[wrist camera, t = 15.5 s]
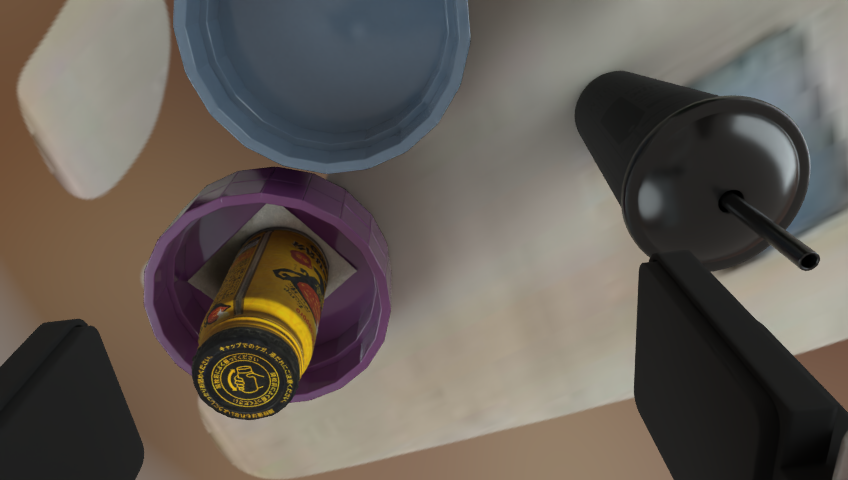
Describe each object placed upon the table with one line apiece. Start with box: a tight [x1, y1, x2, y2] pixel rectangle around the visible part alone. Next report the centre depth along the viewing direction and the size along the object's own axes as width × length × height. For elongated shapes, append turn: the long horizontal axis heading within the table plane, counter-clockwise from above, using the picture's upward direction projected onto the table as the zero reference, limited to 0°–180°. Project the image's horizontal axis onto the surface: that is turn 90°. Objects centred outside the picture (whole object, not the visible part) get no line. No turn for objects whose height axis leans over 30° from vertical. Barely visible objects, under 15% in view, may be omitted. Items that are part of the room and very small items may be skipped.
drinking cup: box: [575, 71, 820, 271], centre depth 29 cm, size 8×8×20 cm
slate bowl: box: [173, 0, 471, 174], centre depth 33 cm, size 14×14×5 cm
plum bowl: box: [144, 167, 392, 403], centre depth 39 cm, size 14×14×5 cm
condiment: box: [187, 204, 357, 420], centre depth 36 cm, size 7×8×12 cm
